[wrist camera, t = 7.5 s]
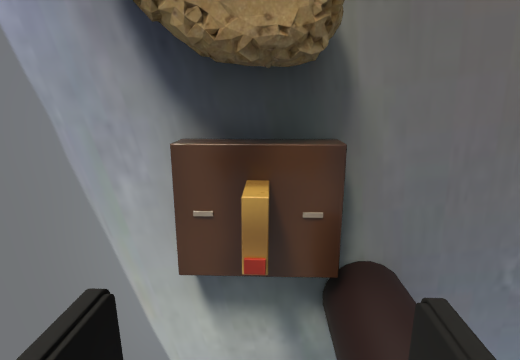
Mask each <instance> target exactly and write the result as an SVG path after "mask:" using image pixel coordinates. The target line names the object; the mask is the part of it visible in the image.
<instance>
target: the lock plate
mask: <svg viewBox="0 0 520 360" xmlns="http://www.w3.org/2000/svg"><path fill="white" fill-rule="evenodd" d="M170 149H171V163H172V178H173V193H174V208H175V223H176V237H177V252H178V267H179V275H211V276H266V277H321V278H338V272H339V257H340V242H341V227H342V211H343V196H344V181H345V166H346V151H347V145H346V144H345V143H343V142H341V141H339V140H337V139H181V140H178V141H176V142H174V143H171V144H170ZM247 180H263V181H269V249H268V275H243V274H242V216H241V197H242V194H243V191H244V188H245V184H246V181H247Z"/></svg>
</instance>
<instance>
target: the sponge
mask: <svg viewBox="0 0 520 360" xmlns="http://www.w3.org/2000/svg"><path fill="white" fill-rule="evenodd" d="M133 1H134V2H135V3H136V5H137V6H138V7H139V8H140V9H141V10H142V11H143V12H144V13H145V14H146V15H147V16H148V17H149V18H150V20H151V21H152V22H154V21H158V22H160V23H161V24H162V25H163V26H164V27H165V28H166V29H167V30H169V31H170V32H171V33H172V34H173V35H174V36H175V37H176V38H178V39H179V40H181V41H182V42H184V43H185V44H187V45H188V46H189V47H191V48H192V49H193V50H194V51H196V52H197V53H198V54H199V55H201V56H204V57H210V58H211V59H213V60H214V61H216V62H222V63H234V64H239V65H245V66H265V67H267V68H270V66H279V67H290V66H295V65H300V64H303V63H306V62H309V61H315V60H316V59H317V57H318V55H319V53H320V52H321V51H323V50H324V49H325V48H326V47H327V45H328V44H329V43H328V40H329V39H330V38H331V37H332V36H333V35H334V33H335V32H336V30H337V29H338V27H339V26H340V24H341V21H342V16H343V6H342V5H343V3H344V0H133Z"/></svg>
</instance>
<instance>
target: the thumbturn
mask: <svg viewBox="0 0 520 360" xmlns="http://www.w3.org/2000/svg"><path fill="white" fill-rule="evenodd" d="M241 216H242V274H243V275H268V249H269V181H263V180H247V181H246V184H245V188H244V191H243V194H242V197H241Z"/></svg>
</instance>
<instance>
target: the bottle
mask: <svg viewBox="0 0 520 360" xmlns="http://www.w3.org/2000/svg"><path fill="white" fill-rule="evenodd" d="M415 306H416V302H415V301H414V300H413V298H412V297H411V295H410V294H409V293H408V291H407V290H406V289H405V287H404V286H403V284H402V283H401V282H400V280H399V279H398V277H397V276H396V275H395V273H394V272H392V271H391V270H389V269H388V268H386V267H385V266H383V265H381V264H378V263H374V262H371V261H358V262H354V263H351V264H347V265H345V266H343V267H342V268H340V269H339V272H338V278H329V280H328V281H327V283H326V286H325V288H324V291H323V307H324V311H325V315H326V319H327V322H328V326H329V330H330V334H331V338H332V342H333V346H334V350H335V354H336V358H337V360H408V358H409V350H410V343H411V335H412V328H413V320H414V313H415Z"/></svg>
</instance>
